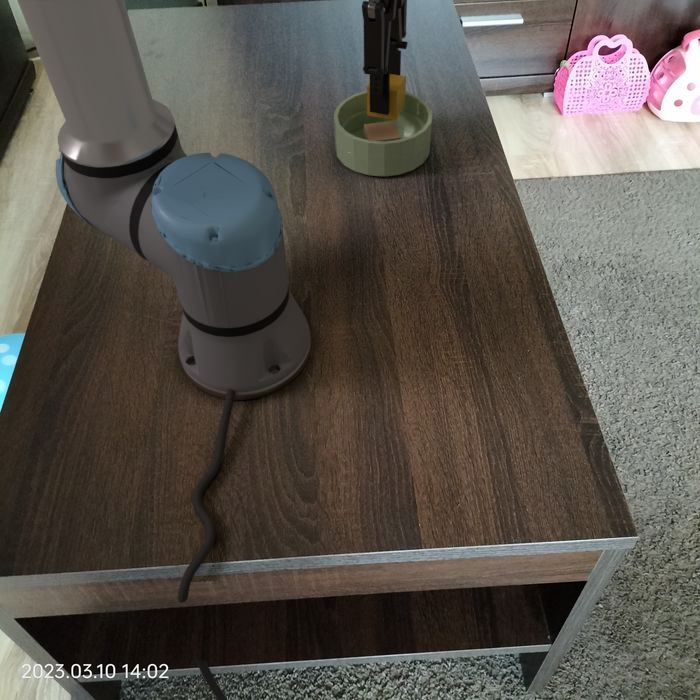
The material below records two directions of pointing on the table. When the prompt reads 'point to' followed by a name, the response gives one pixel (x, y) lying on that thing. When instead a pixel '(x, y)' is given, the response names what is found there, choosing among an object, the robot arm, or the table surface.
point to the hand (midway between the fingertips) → (385, 101)
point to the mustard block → (391, 97)
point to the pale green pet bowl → (382, 154)
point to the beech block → (381, 131)
